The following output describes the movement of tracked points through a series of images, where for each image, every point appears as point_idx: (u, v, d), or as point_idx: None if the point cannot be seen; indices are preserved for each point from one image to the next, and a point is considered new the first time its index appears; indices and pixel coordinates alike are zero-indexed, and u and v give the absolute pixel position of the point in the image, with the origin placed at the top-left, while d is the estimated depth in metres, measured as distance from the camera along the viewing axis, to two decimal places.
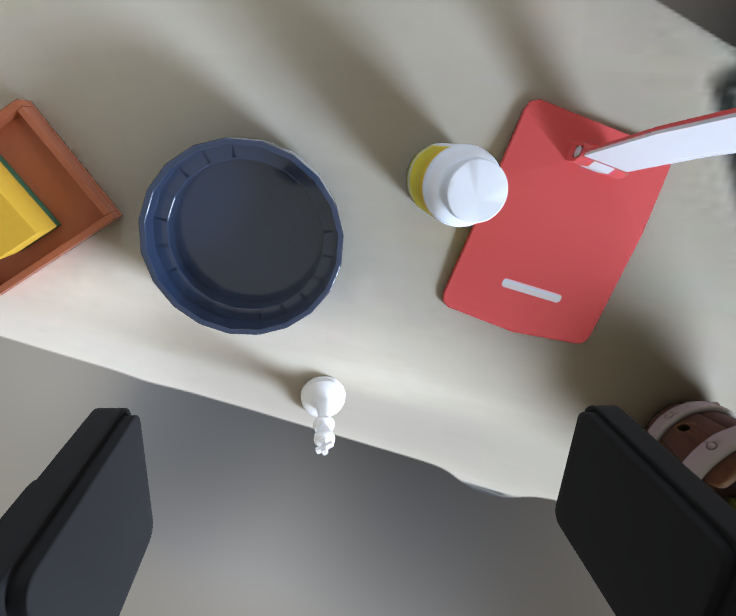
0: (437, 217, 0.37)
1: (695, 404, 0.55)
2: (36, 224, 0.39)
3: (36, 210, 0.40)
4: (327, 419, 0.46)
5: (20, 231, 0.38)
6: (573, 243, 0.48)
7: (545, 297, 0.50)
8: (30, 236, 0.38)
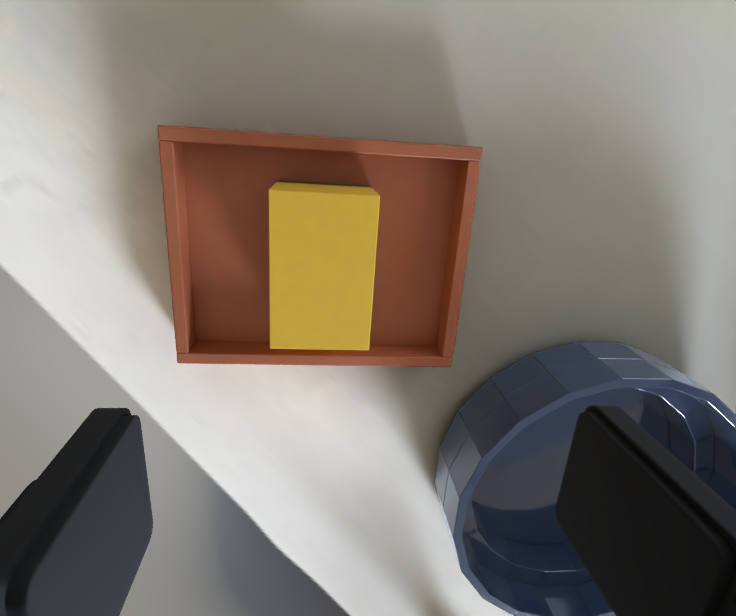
0: None
1: None
2: None
3: None
4: None
5: (349, 334, 0.21)
6: None
7: None
8: (355, 348, 0.21)
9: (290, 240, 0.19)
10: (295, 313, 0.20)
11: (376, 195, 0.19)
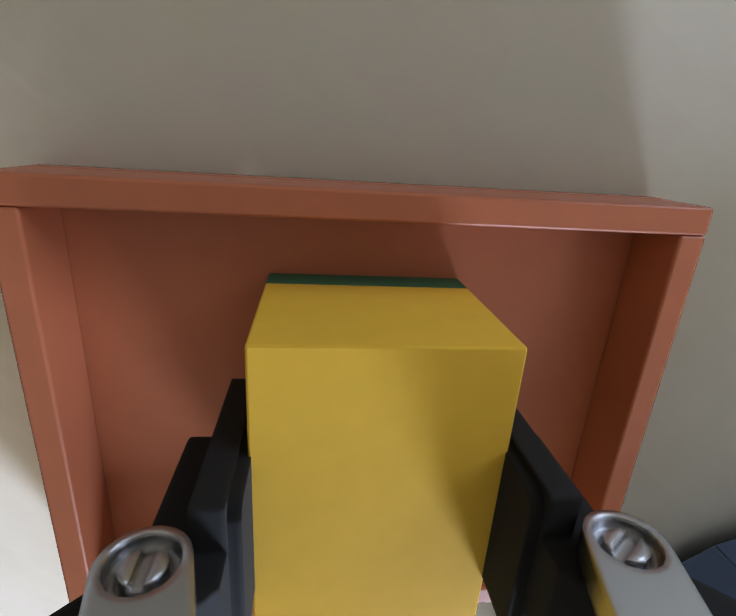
0: None
1: None
2: None
3: None
4: None
5: None
6: None
7: None
8: None
9: (301, 455, 0.08)
10: (313, 596, 0.09)
11: (517, 346, 0.08)
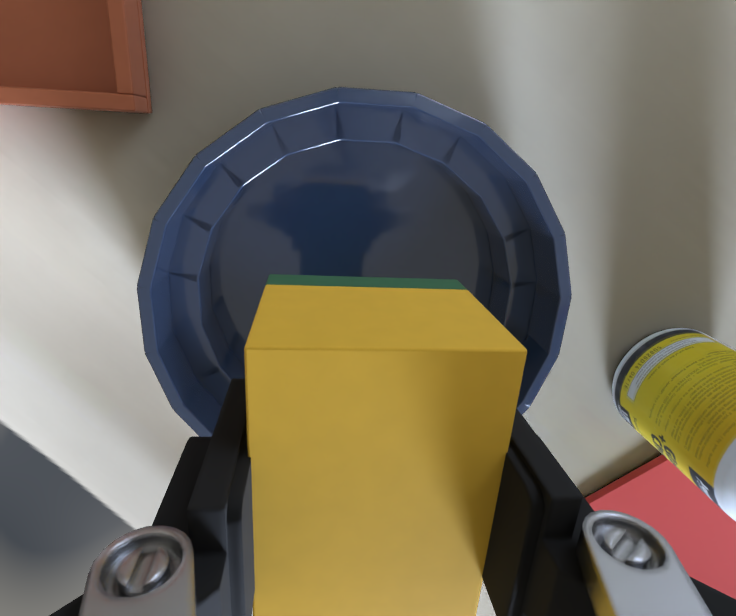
0: (729, 495, 0.19)
1: None
2: None
3: None
4: None
5: None
6: None
7: None
8: None
9: (301, 457, 0.08)
10: (313, 597, 0.09)
11: (517, 348, 0.08)
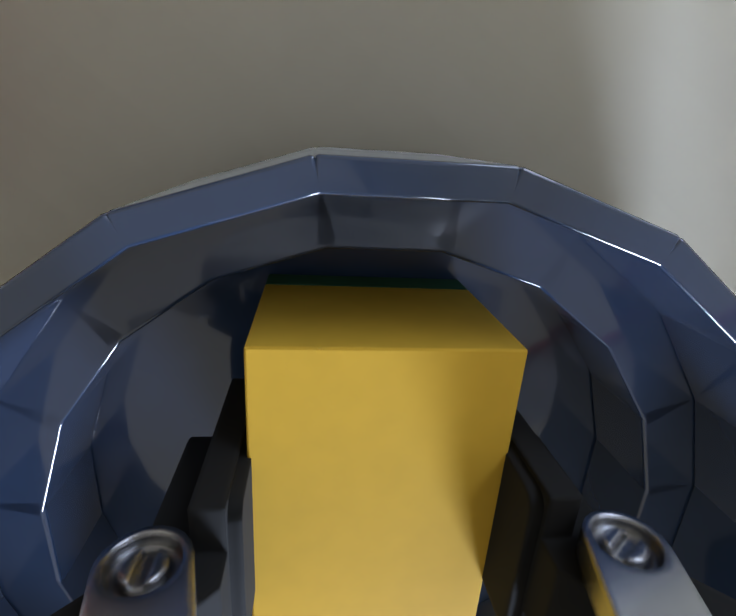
0: None
1: None
2: None
3: None
4: None
5: None
6: None
7: None
8: None
9: (300, 457, 0.08)
10: (313, 598, 0.09)
11: (518, 348, 0.08)
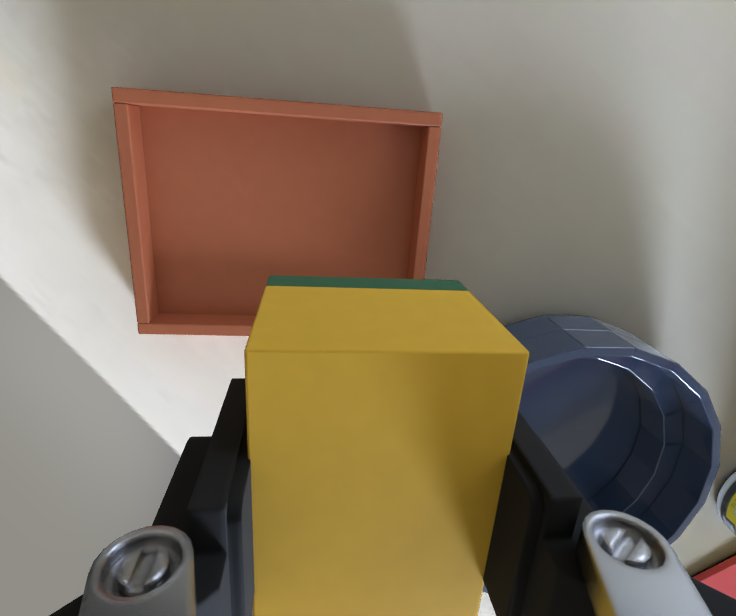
0: None
1: None
2: None
3: None
4: None
5: None
6: None
7: None
8: None
9: (302, 459, 0.08)
10: (313, 601, 0.09)
11: (519, 350, 0.07)
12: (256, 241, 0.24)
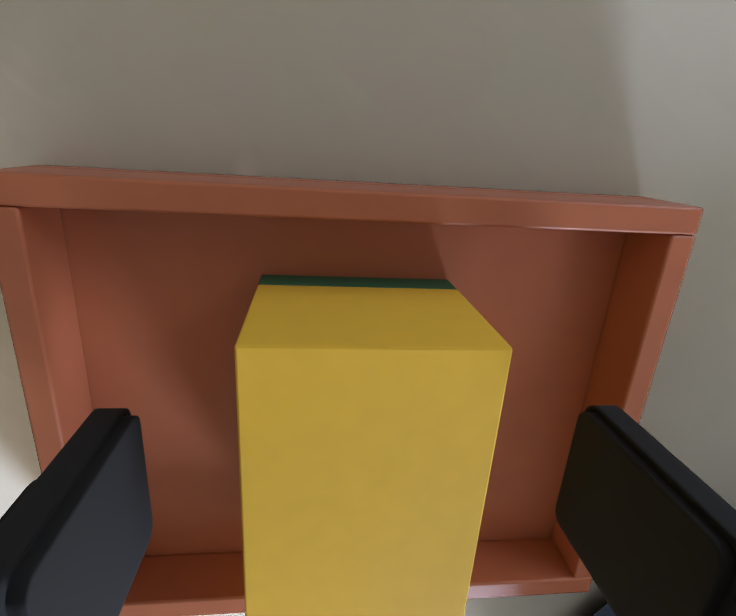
0: None
1: None
2: None
3: None
4: None
5: None
6: None
7: None
8: None
9: (291, 453, 0.08)
10: (304, 593, 0.09)
11: (503, 346, 0.08)
12: None
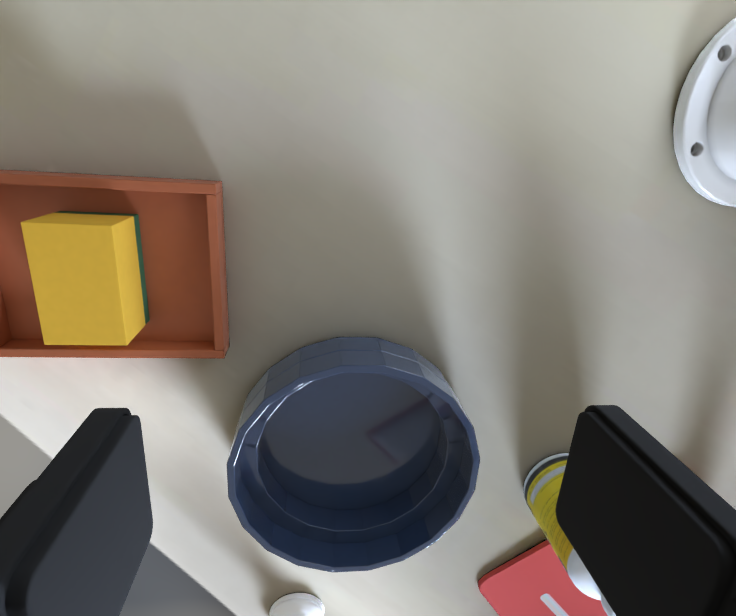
0: (573, 577, 0.32)
1: None
2: (131, 329, 0.27)
3: (138, 303, 0.28)
4: None
5: (108, 332, 0.27)
6: None
7: None
8: (115, 344, 0.27)
9: (45, 260, 0.25)
10: (60, 317, 0.26)
11: (109, 225, 0.25)
12: None
